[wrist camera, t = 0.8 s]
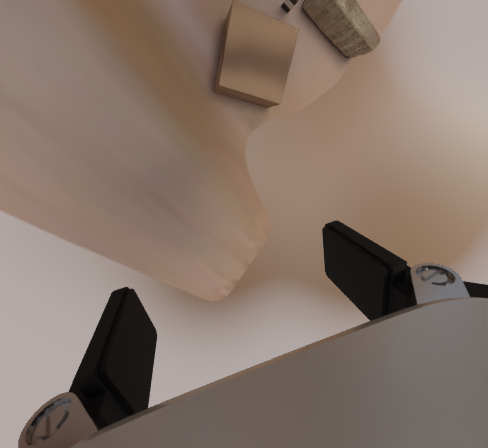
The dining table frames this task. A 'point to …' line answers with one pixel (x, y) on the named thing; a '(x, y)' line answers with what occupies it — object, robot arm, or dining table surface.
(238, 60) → the tan box
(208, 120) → the dining table surface
